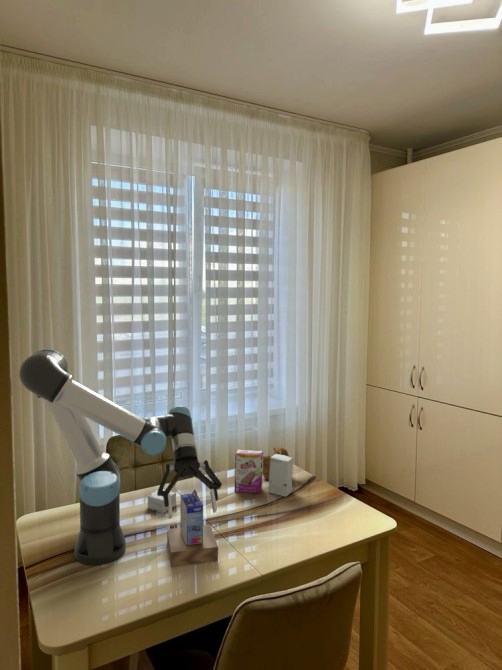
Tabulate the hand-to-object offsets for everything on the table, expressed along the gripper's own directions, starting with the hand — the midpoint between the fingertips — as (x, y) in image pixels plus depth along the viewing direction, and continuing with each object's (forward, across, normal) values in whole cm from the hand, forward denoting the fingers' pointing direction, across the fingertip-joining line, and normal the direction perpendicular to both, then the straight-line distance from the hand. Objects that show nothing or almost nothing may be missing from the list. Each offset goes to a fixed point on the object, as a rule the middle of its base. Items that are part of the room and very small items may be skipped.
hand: (193, 514), depth 143 cm
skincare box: (-16, -43, -34) cm, 57 cm away
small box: (-16, +5, -35) cm, 39 cm away
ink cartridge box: (+5, 0, -8) cm, 9 cm away
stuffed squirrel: (-26, -46, -45) cm, 70 cm away
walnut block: (+8, 0, -11) cm, 14 cm away
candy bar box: (-19, -31, -38) cm, 53 cm away
